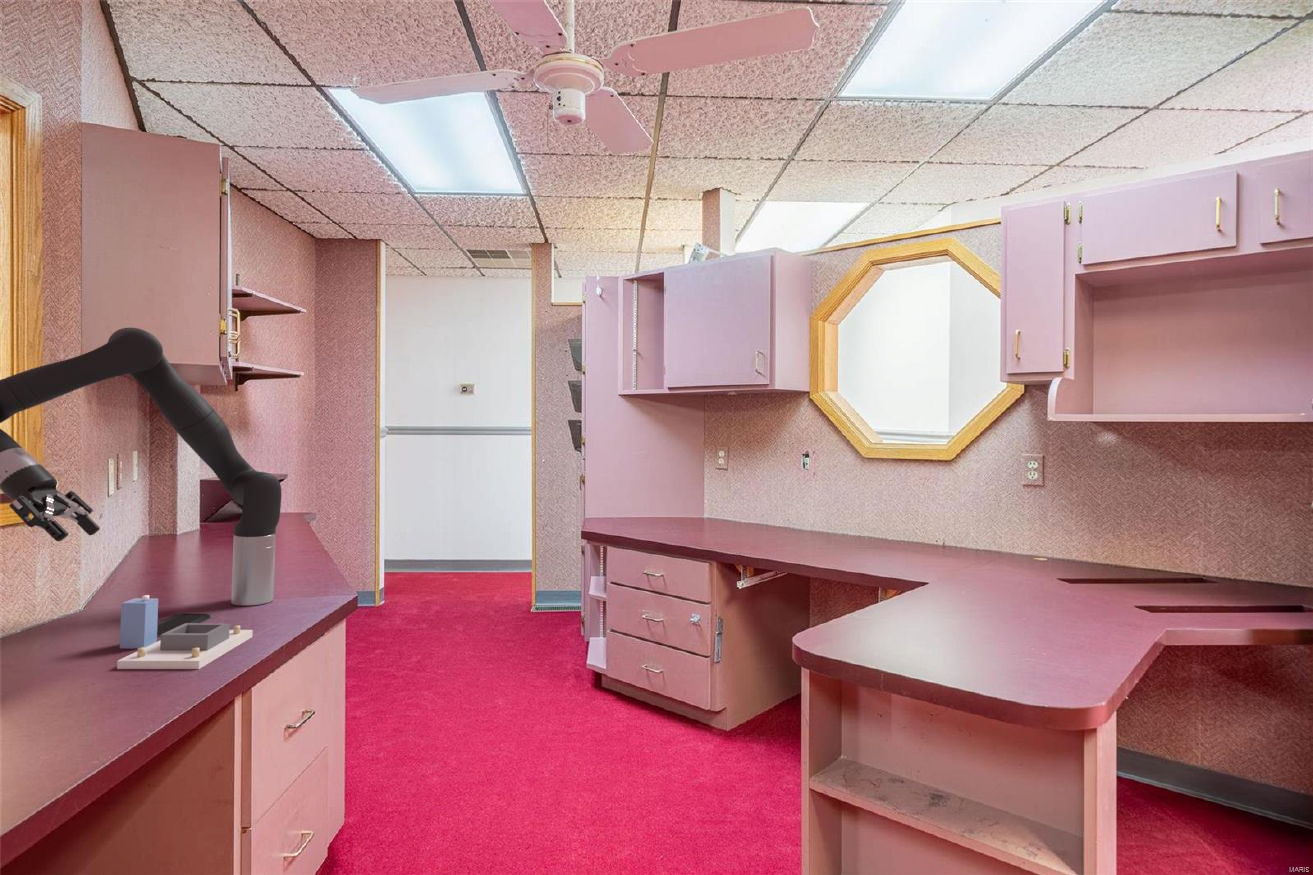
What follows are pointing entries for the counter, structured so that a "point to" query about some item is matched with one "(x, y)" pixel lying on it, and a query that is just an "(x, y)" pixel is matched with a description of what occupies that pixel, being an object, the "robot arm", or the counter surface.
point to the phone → (179, 621)
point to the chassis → (187, 647)
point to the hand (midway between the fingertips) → (80, 535)
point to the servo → (139, 622)
